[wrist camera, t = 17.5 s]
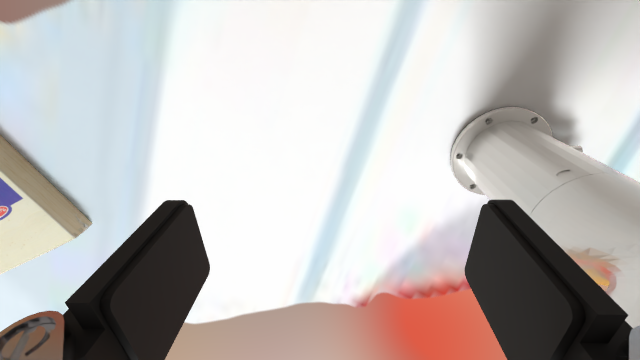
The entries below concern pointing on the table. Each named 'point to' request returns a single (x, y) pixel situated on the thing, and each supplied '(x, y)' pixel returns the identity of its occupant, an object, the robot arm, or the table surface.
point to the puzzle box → (31, 212)
